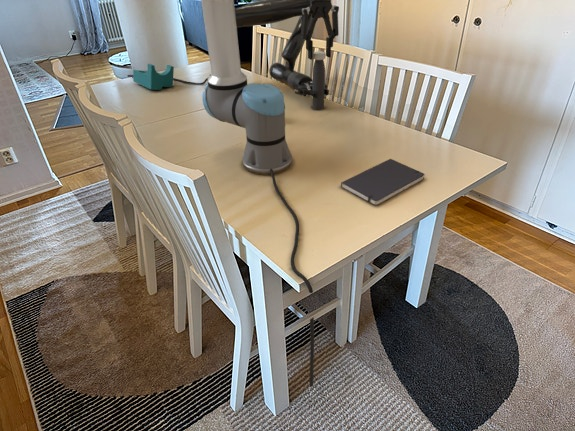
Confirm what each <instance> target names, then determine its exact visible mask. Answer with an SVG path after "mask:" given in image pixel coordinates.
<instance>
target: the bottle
mask: <svg viewBox="0 0 575 431" xmlns="http://www.w3.org/2000/svg"><path fill="white" fill-rule="evenodd" d="M312 81H313V91H315V92H317V98H314V97H312V96H311V98H312V101H311V108H312V109H313V110H314V111H322V110H324V109H325V96H326V95H325V84H326V67H325V61H324V59H323V60H315V59H314V63H313V66H312Z"/></svg>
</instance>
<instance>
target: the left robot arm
mask: <svg viewBox="0 0 575 431" xmlns="http://www.w3.org/2000/svg"><path fill="white" fill-rule="evenodd" d="M309 4H310V0H257V1H253V2H251V3H248V4H246V5H245V4H244V5H242V6H240V7H234V8H235V17H236V27H237V29H238V28H243V27H256V26H264V25H270V24H276V23H279V22H283V21H286V20H289V19H292V18H296V17H299V18H298V20H297V22H296V24H295V27H294V29H293V30H292V32H291V34H290V36H289V38H288V40H287V42H286V44H285V46H284V47H283V50H282V51H281V56H280V57H281V58H282V59H283V60H284V62H285V63H284V64H285V65H284V64H282V63H281V62H277V61H276V62H274V63H272V64H271V65H270V67H269V69H268V72H269V75H270V78H272V79H274V80H276V81H278V82H279V83H281V84H284V85H285V86H286V87H289V88H290V89H292V91H294V95H298V96H301V97H307V96H308V97H311V98H312V97H314V98H317V92H315V91H313V78H311V76H309V75H306V74H305V73H303V72H300V71H296V70H295V66H296V62H297V60H298V57H299V55H300V53H301V52H302V49H303V47H304V45H305V43H306V40H304V39H302V38H301V27H302V11H301V9H302V8H304V9H305V8H307V7H309ZM311 15H312V13H311V12H310V11H309V14H308V24H307V30H308V27H309V24H310V20H311ZM210 75H211V73H210V74H209V76H208V77H206V78H205V79H204V81H201V82H193V81H187V80H183V79H179V78H176V77H173V81H176V82H180V83H184V84H187V85H188V84H189V85H195V86H203V85H205V84H207V82H208V78H209V77H210ZM127 77H129V78H133V74H127ZM329 95H330V89H328V84H326V83H325V95H324V96H329Z"/></svg>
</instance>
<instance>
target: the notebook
mask: <svg viewBox="0 0 575 431" xmlns="http://www.w3.org/2000/svg"><path fill="white" fill-rule="evenodd" d="M424 176H425V173H424V172H422V171H420V170H417V169H415V168H413V167H410V166H408V165H406V164H404V163H401V162H399V161H397V160H395V159H393V158H389V159H387V160H385V161H382V162H380V163H379V164H377V165H375V166H372V167H370V168H368V169H366V170H364V171H362V172H360V173H358V174H356V175H353V176H351V177H350V178H348V179H345V180H344V181H341V182H340V183H341V184H340V187H341V188H342V189H344V190H345V191H347V192H349V193H350V194H353V195H355V196H356V197H358V198H360V199H362V200H363V201H365V202H367V203H369V204H371V205H373V206H379V205H381V204H382V203H384V202H386V201H388V200H390V199H391V198H393V197H395V196H397V195H398V194H400V193H402V192H404V191H406V190H407V189H409V188H411V187H413V186H415V185H416V184H418V183H420V182H422V181H423V180H424Z"/></svg>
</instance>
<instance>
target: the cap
mask: <svg viewBox="0 0 575 431" xmlns="http://www.w3.org/2000/svg"><path fill="white" fill-rule="evenodd" d="M325 59H326V51H322V50H321V51H320V50H319V51H318V50H317V51H313V60H314V61H315V60H323V61H324V60H325Z"/></svg>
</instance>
